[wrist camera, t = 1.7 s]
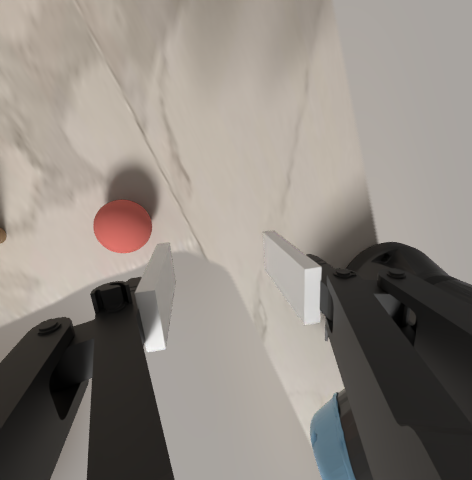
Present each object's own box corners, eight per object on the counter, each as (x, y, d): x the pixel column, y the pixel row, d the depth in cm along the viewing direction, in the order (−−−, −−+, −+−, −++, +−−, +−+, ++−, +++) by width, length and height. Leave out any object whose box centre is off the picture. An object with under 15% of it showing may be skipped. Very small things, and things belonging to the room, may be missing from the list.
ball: (161, 207, 31) (155, 216, 26) (146, 250, 33) (137, 267, 27) (112, 189, 30) (93, 194, 24) (98, 235, 31) (77, 250, 25)
